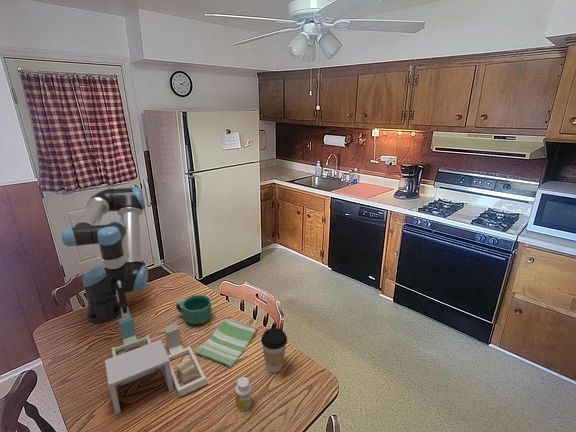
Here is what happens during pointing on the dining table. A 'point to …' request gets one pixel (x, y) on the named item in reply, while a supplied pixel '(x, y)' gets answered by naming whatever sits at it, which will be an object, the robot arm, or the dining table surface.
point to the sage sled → (130, 343)
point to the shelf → (136, 367)
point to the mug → (195, 309)
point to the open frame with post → (176, 351)
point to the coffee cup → (274, 348)
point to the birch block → (186, 370)
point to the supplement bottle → (243, 394)
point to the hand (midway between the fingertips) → (123, 309)
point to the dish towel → (227, 342)
